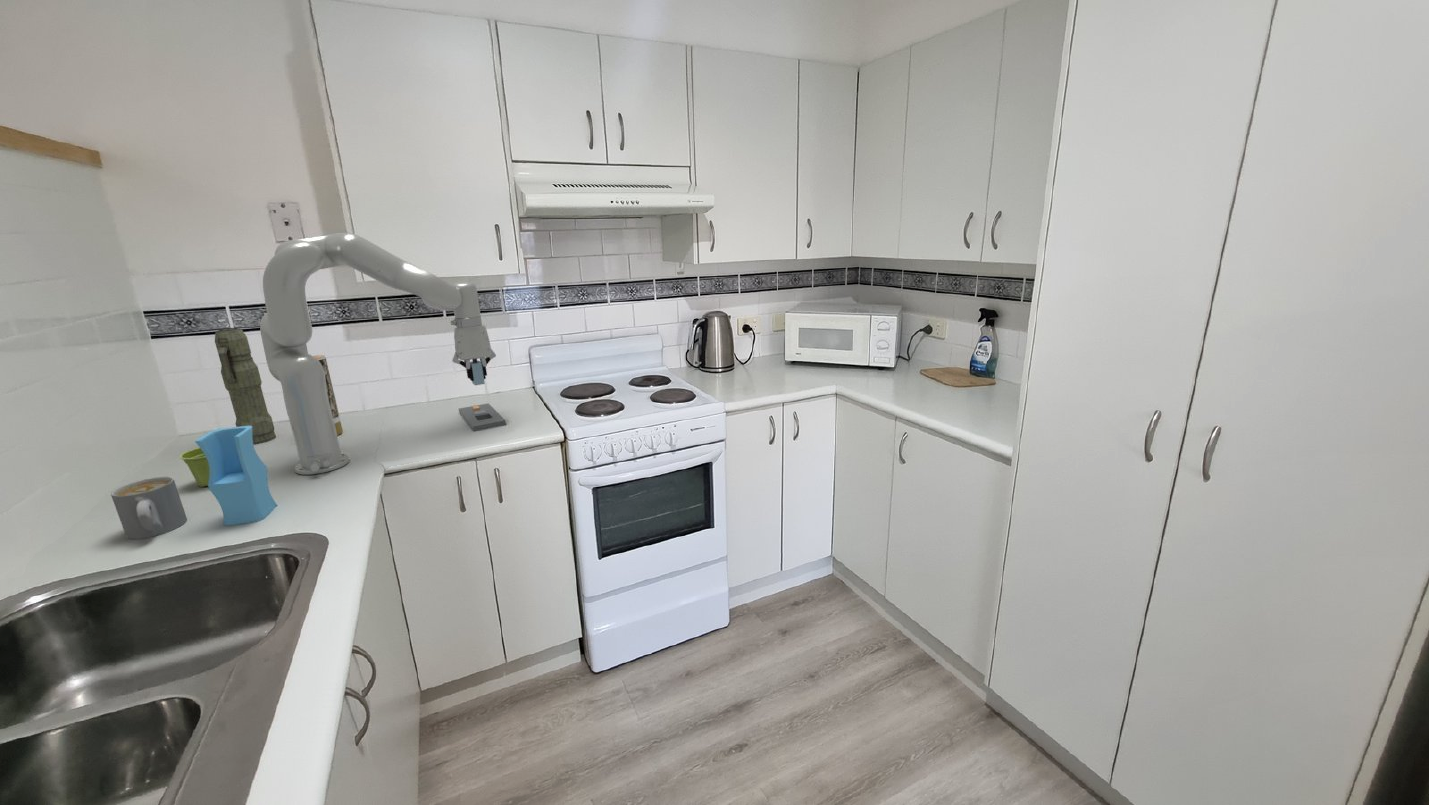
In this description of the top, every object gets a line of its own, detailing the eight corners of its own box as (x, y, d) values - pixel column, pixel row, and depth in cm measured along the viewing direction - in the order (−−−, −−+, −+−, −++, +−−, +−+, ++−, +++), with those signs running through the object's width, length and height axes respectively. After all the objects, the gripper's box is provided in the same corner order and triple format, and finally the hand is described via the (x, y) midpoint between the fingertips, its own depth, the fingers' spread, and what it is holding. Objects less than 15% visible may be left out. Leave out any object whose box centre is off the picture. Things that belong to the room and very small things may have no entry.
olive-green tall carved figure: (233, 448, 175) (199, 333, 165) (251, 435, 186) (220, 327, 176) (267, 444, 178) (236, 331, 168) (282, 432, 189) (254, 324, 178)
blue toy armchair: (221, 526, 127) (194, 441, 121) (238, 510, 134) (213, 429, 129) (262, 520, 129) (238, 436, 123) (277, 505, 137) (254, 424, 131)
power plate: (506, 424, 188) (505, 418, 187) (473, 431, 183) (472, 424, 182) (489, 407, 207) (488, 401, 207) (459, 413, 202) (458, 406, 202)
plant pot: (243, 479, 153) (234, 448, 150) (199, 493, 145) (188, 460, 142) (227, 472, 157) (218, 442, 155) (183, 486, 149) (173, 454, 147)
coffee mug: (136, 523, 130) (122, 482, 127) (193, 512, 134) (180, 473, 131) (110, 551, 119) (93, 507, 116) (173, 538, 123) (158, 495, 120)
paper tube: (340, 436, 183) (322, 358, 175) (315, 439, 180) (296, 361, 173) (345, 430, 189) (327, 354, 181) (320, 433, 186) (302, 356, 179)
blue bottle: (484, 383, 187) (480, 359, 185) (475, 385, 186) (471, 361, 183) (481, 381, 191) (478, 357, 188) (472, 382, 189) (468, 358, 187)
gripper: (442, 327, 175) (452, 386, 181) (498, 320, 184) (506, 377, 189) (438, 324, 181) (448, 381, 187) (492, 318, 190) (500, 373, 195)
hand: (477, 378), depth 188 cm, fingers closed on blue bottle, 3 cm apart
